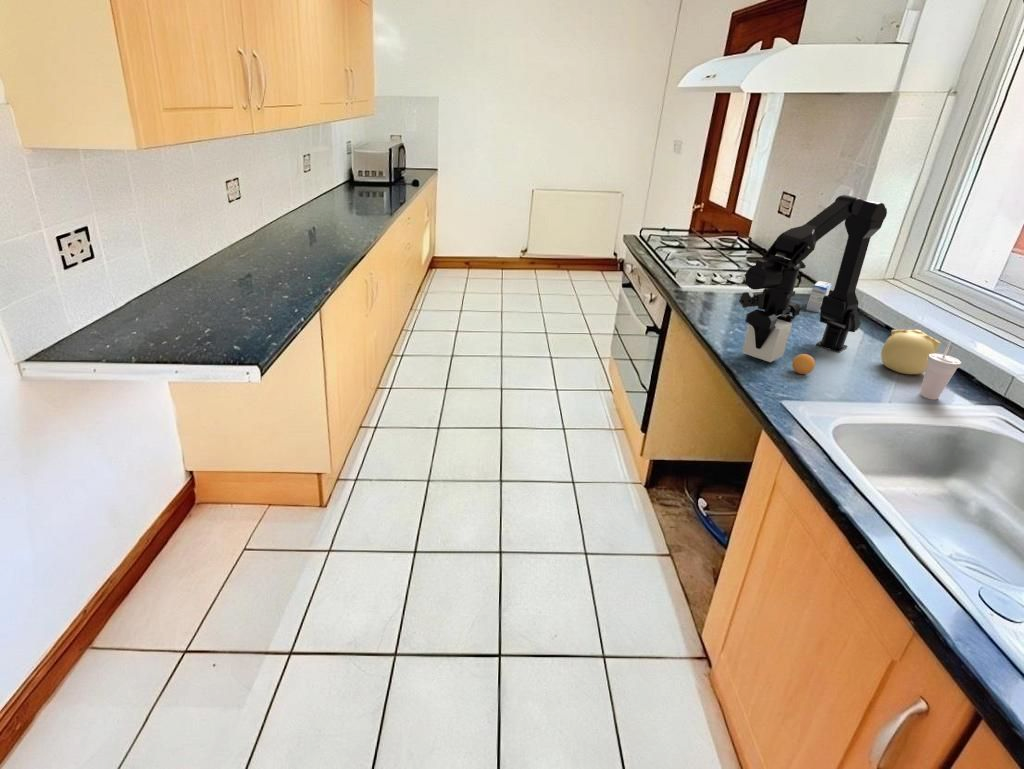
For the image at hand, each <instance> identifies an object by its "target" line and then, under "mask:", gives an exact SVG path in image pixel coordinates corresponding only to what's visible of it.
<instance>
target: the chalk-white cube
mask: <svg viewBox="0 0 1024 769" xmlns="http://www.w3.org/2000/svg"><path fill="white" fill-rule="evenodd" d="M775 326H776V328H775V329H774V330H773V332H772V333H771V335H770V336H769V338H768V339H767V340H766V342H765V343H764V345H763V346H762V347H761V349H757V348H756V344H755V331H754V328H753V326H752V325H750V324H749V323H748V326H747V331H746V333H745V337H744V341H743V346H742V350H741V353H742V354H745V355H748V356H750V357H754V358H756V359H760V360H763V361H764V362H765V361H766V362H769V363H772V362H773V361H775V360H777V359H779V358H781V357H783V356H784V353H785V351H786V350H785V349H786V346H787V343H788V339H789V336H790V333H791V330H792V327H793V323H792V322H791V323H790V322H786V321H783V320H779V319H777V322H776V324H775Z"/></svg>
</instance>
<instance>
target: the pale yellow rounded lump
mask: <svg viewBox="0 0 1024 769" xmlns="http://www.w3.org/2000/svg"><path fill="white" fill-rule="evenodd" d="M890 334H891V335H890V336H889V337H888V338H887V340H886V341H885V342H884V344H883V346H882V348H881V352H880V353H881V354H880V358H881V362H882V364H883V365H884V366H885V367H886V368H888V369H890V370H892V371H893V372H896V373H900V374H904V375H919V374H923V373H925V371H926V367H927V363H928V359H927V358H928V356H929V354H933V353H937V354H938V348H939V347H940V346H941V344H942V343H941V341H939V340H937V339H935V338H934V337H933V336H931V335H928V334H926V333H925V332H924V331H922V330H920V329H892V330H891V331H890Z"/></svg>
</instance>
